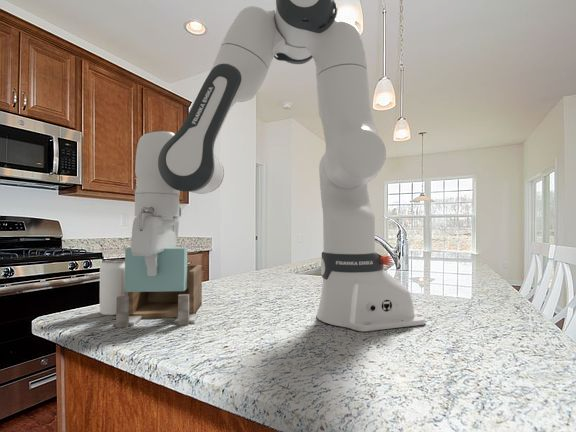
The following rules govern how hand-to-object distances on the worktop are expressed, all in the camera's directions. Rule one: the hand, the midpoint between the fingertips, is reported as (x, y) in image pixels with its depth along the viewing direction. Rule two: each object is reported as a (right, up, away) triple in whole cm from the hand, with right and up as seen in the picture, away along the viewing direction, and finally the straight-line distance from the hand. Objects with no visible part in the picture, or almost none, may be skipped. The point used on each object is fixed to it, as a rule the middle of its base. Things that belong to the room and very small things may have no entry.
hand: (156, 273), depth 69 cm
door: (0, -4, 0) cm, 4 cm away
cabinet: (0, -10, +5) cm, 11 cm away
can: (-12, -11, +7) cm, 18 cm away
